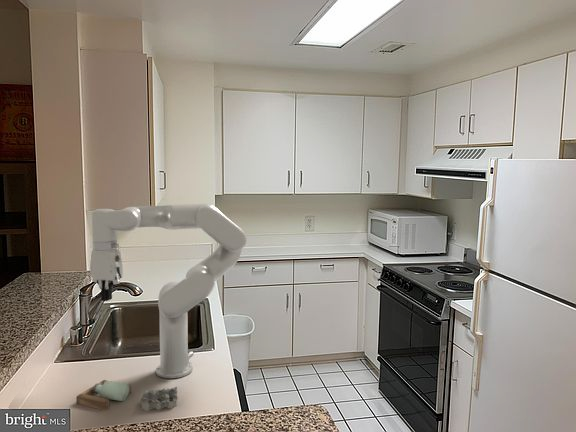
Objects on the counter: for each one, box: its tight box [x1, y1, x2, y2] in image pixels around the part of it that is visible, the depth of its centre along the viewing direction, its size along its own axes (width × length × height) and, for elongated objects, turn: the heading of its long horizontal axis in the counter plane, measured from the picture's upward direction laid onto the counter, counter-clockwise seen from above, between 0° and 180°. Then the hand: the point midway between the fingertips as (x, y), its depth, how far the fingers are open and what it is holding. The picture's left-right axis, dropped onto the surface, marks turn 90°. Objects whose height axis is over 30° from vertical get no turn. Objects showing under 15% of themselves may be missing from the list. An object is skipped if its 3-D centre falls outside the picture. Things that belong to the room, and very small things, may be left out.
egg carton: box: [140, 386, 178, 412], centre depth 137 cm, size 11×8×4 cm
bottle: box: [93, 380, 130, 402], centre depth 140 cm, size 5×5×10 cm
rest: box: [76, 379, 132, 411], centre depth 140 cm, size 12×11×2 cm
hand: (106, 299), depth 152 cm, fingers closed
